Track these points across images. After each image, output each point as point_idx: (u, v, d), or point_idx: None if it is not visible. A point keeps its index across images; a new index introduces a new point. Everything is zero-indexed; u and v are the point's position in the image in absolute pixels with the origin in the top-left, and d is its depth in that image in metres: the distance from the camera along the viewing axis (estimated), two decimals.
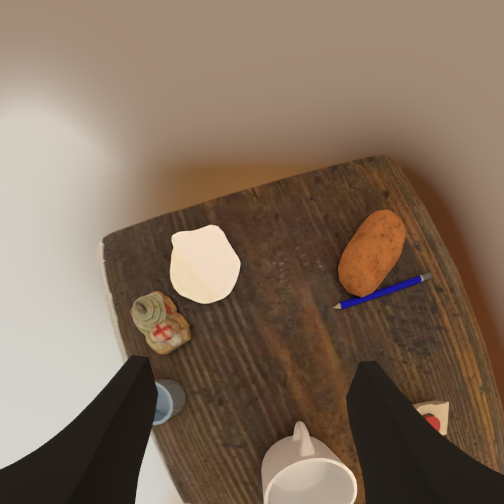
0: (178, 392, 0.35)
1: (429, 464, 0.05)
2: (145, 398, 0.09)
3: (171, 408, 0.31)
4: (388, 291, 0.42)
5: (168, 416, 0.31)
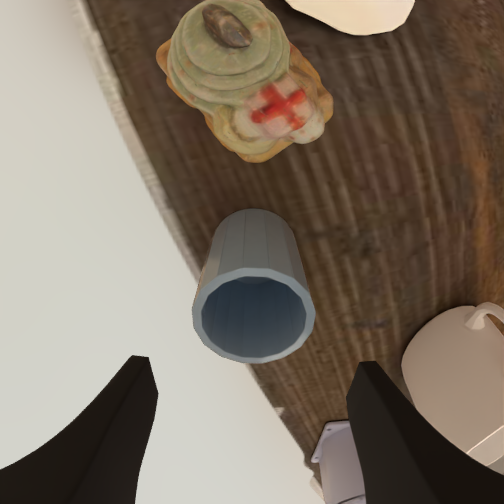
0: (299, 255, 0.16)
1: (429, 464, 0.05)
2: (145, 398, 0.09)
3: (310, 327, 0.13)
4: None
5: (299, 344, 0.14)
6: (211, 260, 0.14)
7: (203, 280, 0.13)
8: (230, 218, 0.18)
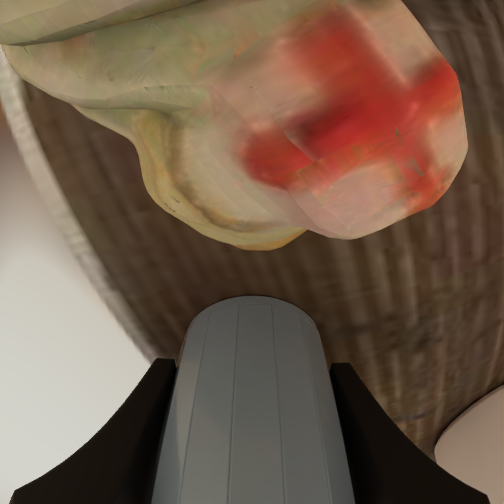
0: (333, 394, 0.08)
1: (393, 473, 0.05)
2: None
3: None
4: None
5: None
6: (172, 433, 0.06)
7: (157, 485, 0.05)
8: (210, 319, 0.10)
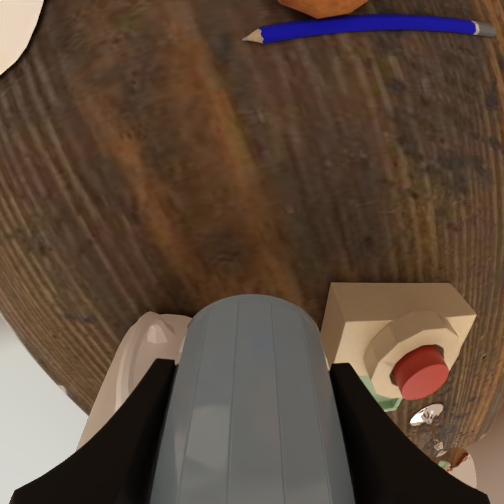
0: (333, 393, 0.08)
1: (393, 473, 0.05)
2: None
3: None
4: (397, 24, 0.12)
5: None
6: (171, 432, 0.06)
7: (155, 484, 0.05)
8: (210, 317, 0.10)
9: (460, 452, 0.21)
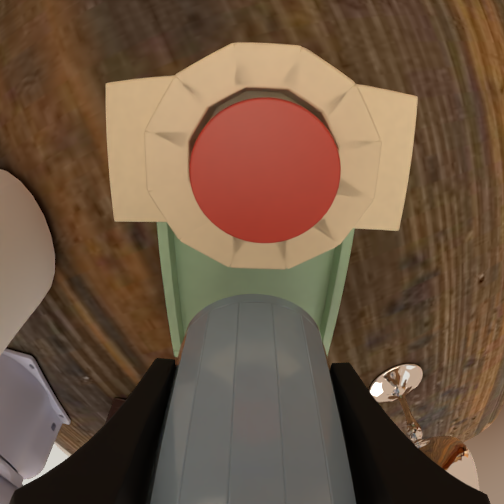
0: (334, 392, 0.08)
1: (394, 473, 0.05)
2: None
3: None
4: None
5: None
6: (171, 432, 0.06)
7: (156, 484, 0.05)
8: (210, 317, 0.10)
9: (450, 443, 0.12)
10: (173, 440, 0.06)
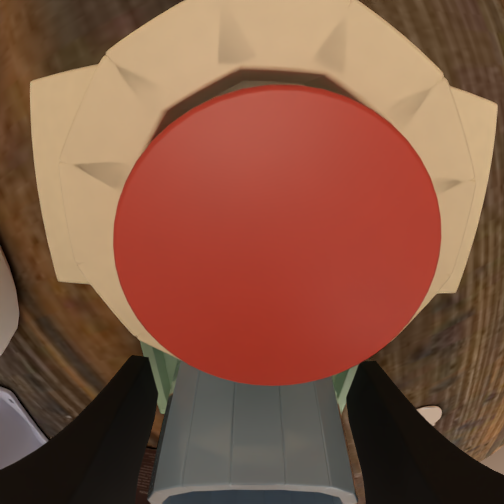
0: (332, 379, 0.09)
1: (429, 464, 0.05)
2: (145, 398, 0.09)
3: None
4: None
5: None
6: (175, 414, 0.07)
7: (160, 465, 0.06)
8: None
9: None
10: (177, 422, 0.07)
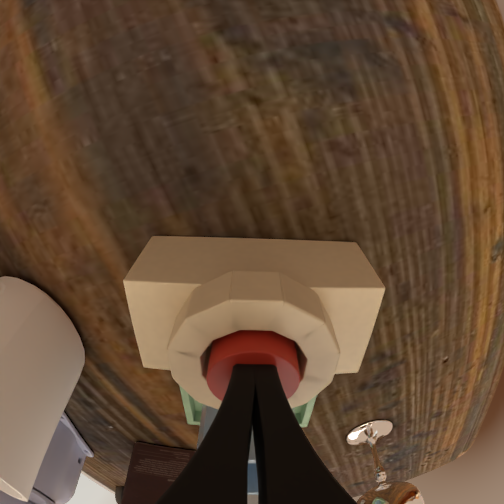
0: None
1: (282, 487, 0.05)
2: (253, 407, 0.09)
3: None
4: None
5: None
6: (208, 428, 0.14)
7: None
8: None
9: (403, 490, 0.16)
10: None
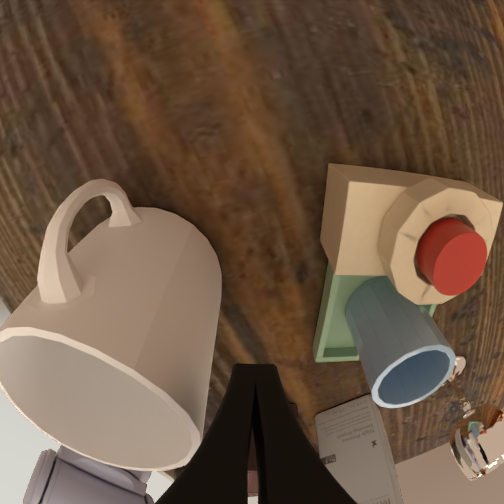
0: None
1: (282, 487, 0.05)
2: (253, 407, 0.09)
3: (447, 377, 0.15)
4: None
5: (436, 389, 0.15)
6: (382, 334, 0.16)
7: (386, 354, 0.14)
8: (373, 286, 0.19)
9: (493, 408, 0.18)
10: (386, 336, 0.15)
